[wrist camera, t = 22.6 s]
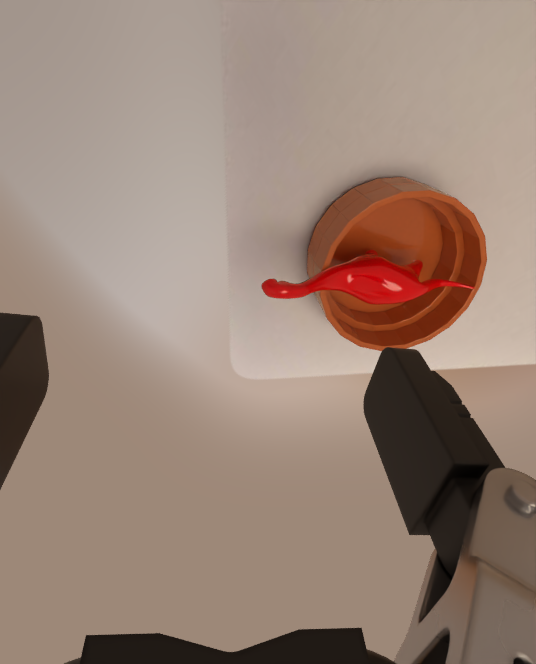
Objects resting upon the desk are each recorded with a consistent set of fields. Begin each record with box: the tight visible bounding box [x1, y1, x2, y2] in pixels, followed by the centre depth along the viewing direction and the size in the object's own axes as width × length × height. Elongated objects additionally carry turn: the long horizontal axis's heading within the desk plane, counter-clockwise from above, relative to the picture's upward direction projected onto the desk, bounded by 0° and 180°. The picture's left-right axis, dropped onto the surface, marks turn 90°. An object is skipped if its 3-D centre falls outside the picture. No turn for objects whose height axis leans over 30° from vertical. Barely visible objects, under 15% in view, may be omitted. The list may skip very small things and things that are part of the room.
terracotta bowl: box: [307, 177, 487, 351], centre depth 38 cm, size 14×14×6 cm
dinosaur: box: [262, 249, 475, 305], centre depth 34 cm, size 4×15×12 cm, turn 83°
